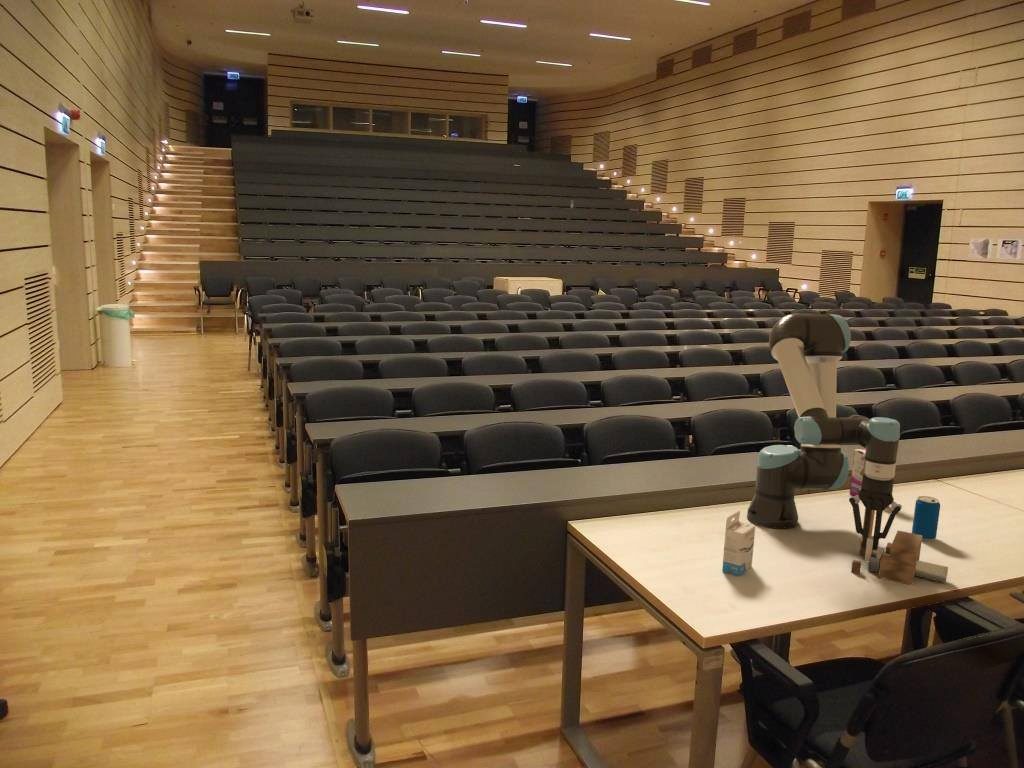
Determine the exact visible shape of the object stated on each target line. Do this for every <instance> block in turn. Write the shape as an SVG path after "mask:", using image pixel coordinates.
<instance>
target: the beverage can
mask: <svg viewBox="0 0 1024 768" xmlns="http://www.w3.org/2000/svg"><path fill="white" fill-rule="evenodd" d="M914 504H915V505H914V512H913V520H912V528H911V533H913V534H918V535H922V541H924V542H925V541H927V542H928V541H929V542H931V541H933V540H935V539H936V538H937V535H938V534H937V533H938V528H939V527H938V525H939V517H940V511H941V503H940V499H938V498H936V497H932V496H926V495H921V496H918V497H917V499H916V500H915V503H914Z"/></svg>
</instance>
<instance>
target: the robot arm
mask: <svg viewBox="0 0 1024 768" xmlns="http://www.w3.org/2000/svg"><path fill="white" fill-rule="evenodd" d="M851 335H852V333H851V328H850V326H849V324H848V322H847V320H846V319H845V317H844V316H841V315H839V314H831V313H797V312H795V313H790V314H786V315H784V316H782V317H781V318H780V319H778V321H776V323H775V324H774V325H773V326H772V328H771V331H770V333H769V339H768V347H769V351H770V354H771V356H772V358H773V359H774V360H776V361H777V362H778V365H779V367H780V371H781V373H782V376H783V379H784V382H785V384H786V387H787V390H788V392H789V394H790V398H791V401H792V403H793V406H794V408H795V412H796V414H797V417H798V418H797V419H796V420H795V422H794V426H793V430H794V438H795V440H796V441H797V442H798V443H799V444H800V451H799V448H798V447H796V446H795V445H789V444H787V445H785V444H773V445H769V446H765V447H763V448H761V450H760V451H759V452H758V456H757V457H758V458H757V461H756V477H755V489H754V495H753V497H752V500H751V502H750V504H749V506H748V508H747V511H746V512H747V513H746V518H747V520H749V521H750V522H751V524H752V523H753V524H754V525H757V526H761V527H765V528H769V529H779V530H784V529H785V530H786V529H792V528H795V527H797V526H798V524H799V514H798V510H797V506H796V501H795V493H796V490H823V491H827V490H837V489H840V488H841V487H842V486H843V485H844V483H845V482H846V481H847V479H848V476H849V470H850V462H849V460H848V459H849V458H848V455H847V453H845V452H843V451H842V446H860V447H863V449H866V452H865V461H864V469H863V472H864V475H863V478H862V487H861V491H860V492H859V494H858V495H856V496H852V495H850V497H849V499H848V500H849V503H850V505H851V506H852V514H853V520H854V526H855V532H856V533H857V534H859V535H861V537H862V536H863V541H862V547H863V548H866V553H865V556H864V562H868V563H869V560H870V556H871V553H872V551H873V550H877V548H878V547H879V542H880V540H882V539H884V540H885V539H886V538H887V536H888V533H889V532H890V529H891V528H892V525H893V522H894V521H895V517H896V515H897V514H898V513H900V512H901V510H902V507H903V506H902V504H898V503H897V502H896V501H894V500H895V499H894V496H893V490H894V489H893V488H894V481H895V480H894V479H893V478H895V475H896V466H897V459H898V458H897V456H898V450H899V444H900V443H899V442H900V438H901V435H900V432H901V431H900V430H901V424H900V422H899V421H898V420H897V419H893V418H889V417H883V416H880V417H879V416H877V417H872V418H868V417H866V416H865V415H859V414H852V415H850V416H846V417H837V384H838V383H837V378H838V377H837V375H838V374H837V373H838V371H837V370H838V368H837V367H838V362H839V361H841V360H842V359H843V353H845V352H847V351H848V349H849V348H850V344H851V343H852V342H851V340H852V339H851V337H852V336H851ZM860 501H861V503H862V505H863V506H864V508H865V507H866V514H865V513H864V515H865V522H864V521H863V523H864V529H863V523H862V516H861V511H860ZM889 506H891V507H890V510H891V511H890V514H889V516H888V519H887V521H886V523H885V525H884V528H883V531H882V532H881V527H882V521H883V520H882V518H883V512H884V511H885V510H886V509H887V508H889ZM872 510H875V519H874V527H873V528H874V530H873V535H872V536H871V535H869V533H870V532H869V531H870V523H871V515H872Z"/></svg>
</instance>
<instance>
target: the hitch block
mask: <svg viewBox="0 0 1024 768" xmlns="http://www.w3.org/2000/svg"><path fill="white" fill-rule="evenodd" d="M922 541H923V540H922V535H918V534H913V533H912V532H909V531H908V532H907V531H902V530H897V531H896V534H895V535H894V539H893V541H892V542H887V544H886V547H885V550H884V553H886V554H890V556H888V555H884V554H883V555H882V557H881V560H880V568H879V572H878V576H877V577H878V578H879V579H883V580H888V581H892V582H896V583H901V584H906V585H909V586H913V584H914V582H915V569H916V562H917V560H918V561H920V556H921V549H922ZM858 552H859V553H858V556H860V555H861V556H860V557H865V553H866V548H863V547H862V544H861V543H860V544H859V551H858ZM861 568H862V561H861V560H857V559H853V560H852V562H851V569H850V570H851V571H850V573H854V574H858V575H860V573H861V570H862V569H861Z"/></svg>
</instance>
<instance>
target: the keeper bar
mask: <svg viewBox="0 0 1024 768" xmlns="http://www.w3.org/2000/svg"><path fill="white" fill-rule="evenodd" d="M864 508H865V509H864V515H863V516H864V517H863V523H862V528H863V529H864V522H865V514H866V507H865V506H864ZM875 515H876V511H875V510H872V515H871V523H870V531H869V532H870V533H869V535H871V536H873V531H874V530H873V528H874V523H875ZM862 541H863V536H862V535H861V539H859V544H860V545H861V544H862Z"/></svg>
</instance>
